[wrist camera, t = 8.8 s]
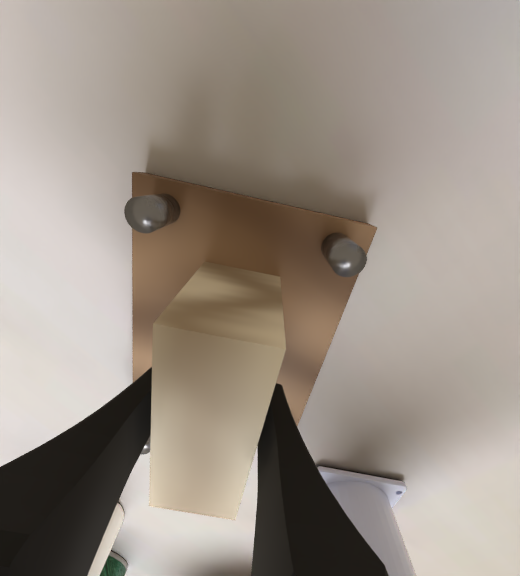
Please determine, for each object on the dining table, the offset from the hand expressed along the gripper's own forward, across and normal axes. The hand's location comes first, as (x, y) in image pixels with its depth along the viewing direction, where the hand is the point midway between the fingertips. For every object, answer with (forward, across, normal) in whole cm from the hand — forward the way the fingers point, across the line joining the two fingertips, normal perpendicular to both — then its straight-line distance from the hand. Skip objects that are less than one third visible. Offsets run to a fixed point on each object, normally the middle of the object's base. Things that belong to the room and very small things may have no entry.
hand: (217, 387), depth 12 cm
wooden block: (+3, 0, 0) cm, 3 cm away
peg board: (+4, 0, 0) cm, 4 cm away
